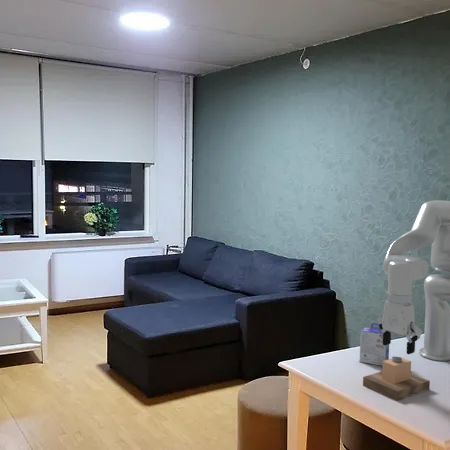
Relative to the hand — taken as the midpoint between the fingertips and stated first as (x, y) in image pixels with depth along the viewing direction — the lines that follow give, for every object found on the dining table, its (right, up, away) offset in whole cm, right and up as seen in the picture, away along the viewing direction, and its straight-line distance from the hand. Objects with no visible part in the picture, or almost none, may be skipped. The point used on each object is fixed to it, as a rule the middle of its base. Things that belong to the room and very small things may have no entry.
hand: (398, 348), depth 180 cm
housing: (-1, -10, +1) cm, 10 cm away
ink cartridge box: (-1, -11, +24) cm, 26 cm away
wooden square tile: (-1, -13, +1) cm, 13 cm away
